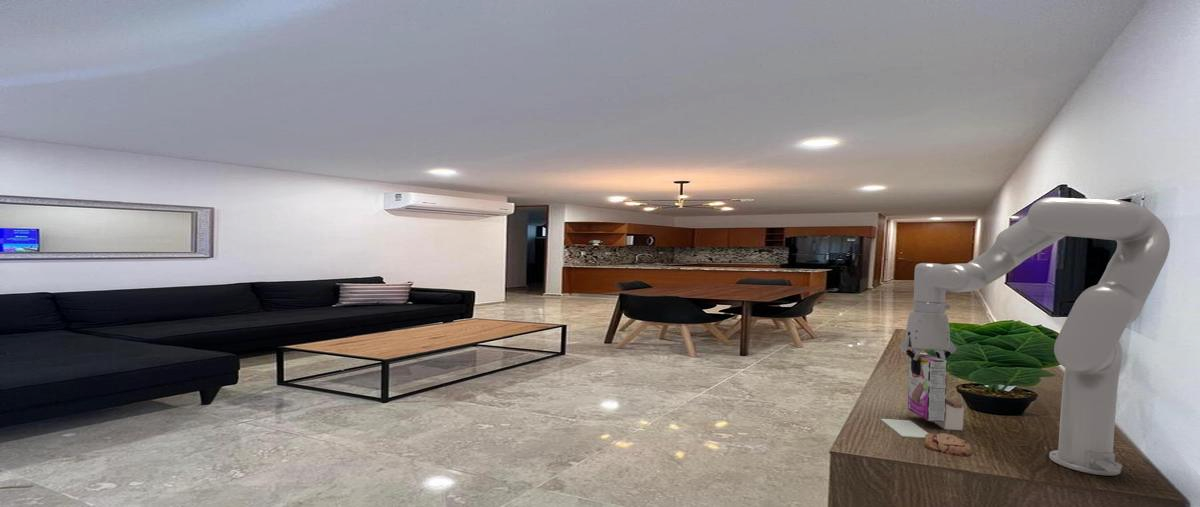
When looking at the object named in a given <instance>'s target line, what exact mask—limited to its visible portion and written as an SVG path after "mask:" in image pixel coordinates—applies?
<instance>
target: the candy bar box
mask: <svg viewBox="0 0 1200 507" xmlns="http://www.w3.org/2000/svg"><path fill="white" fill-rule="evenodd" d="M908 357H909V356H908ZM918 360H919V361H920V375H916V374H913V373H912V371H911V358H910V357H909V358H908V384H907V386H908V389H907V390H908V391H907V410H909V411H910V412H911V413H913V414H916V415H917V416H919V417H920V418H922V419H924V420H926V421H928V422H930V421H932V422H933V421H945V412H946V396H947V378H948V376H947V372H948V360H943V359H940V358H938V357H936V355H935V356H934V355H932V354H929V353H927V352H920V355H919V358H918Z"/></svg>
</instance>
